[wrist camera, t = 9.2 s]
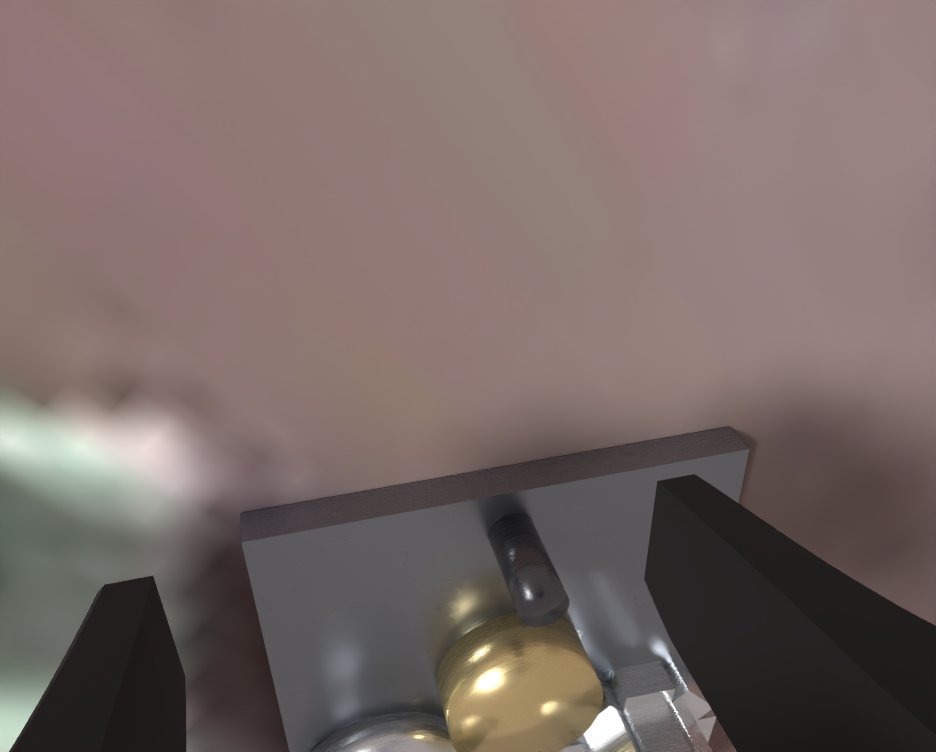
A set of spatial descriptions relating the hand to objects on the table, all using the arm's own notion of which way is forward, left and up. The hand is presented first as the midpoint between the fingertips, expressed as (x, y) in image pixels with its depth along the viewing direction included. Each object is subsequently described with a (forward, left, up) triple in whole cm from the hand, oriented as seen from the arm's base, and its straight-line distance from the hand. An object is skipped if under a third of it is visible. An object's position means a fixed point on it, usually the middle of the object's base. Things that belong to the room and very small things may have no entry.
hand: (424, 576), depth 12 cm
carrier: (+4, -14, -10) cm, 18 cm away
